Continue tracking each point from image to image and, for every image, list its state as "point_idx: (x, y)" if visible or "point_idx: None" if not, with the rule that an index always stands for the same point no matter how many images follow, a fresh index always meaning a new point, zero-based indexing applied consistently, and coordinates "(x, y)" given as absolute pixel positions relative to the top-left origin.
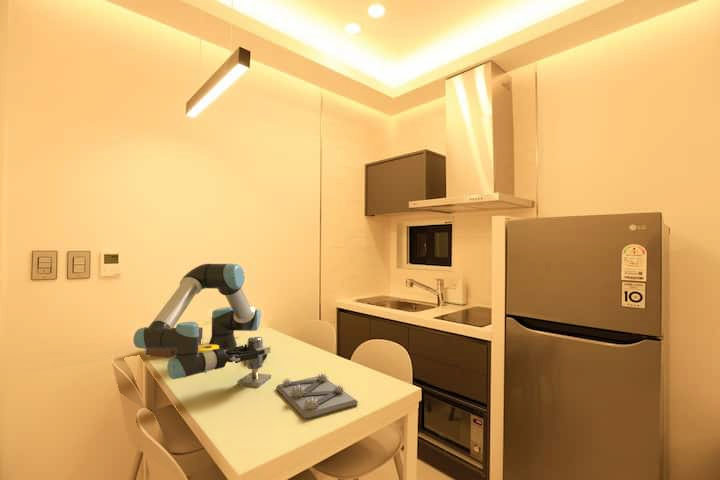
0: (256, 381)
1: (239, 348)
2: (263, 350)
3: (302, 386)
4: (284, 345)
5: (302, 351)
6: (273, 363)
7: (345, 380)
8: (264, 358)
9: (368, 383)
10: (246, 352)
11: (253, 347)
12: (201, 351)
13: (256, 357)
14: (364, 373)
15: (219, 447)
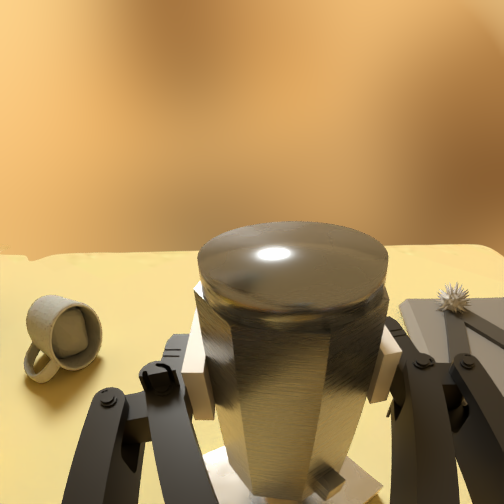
0: (345, 491)
1: (181, 479)
2: (395, 323)
3: (483, 353)
4: (72, 272)
5: (147, 268)
6: (144, 344)
7: (426, 282)
8: (92, 340)
9: (452, 266)
10: (453, 454)
11: (376, 354)
12: None
13: (464, 403)
14: (396, 254)
15: None
